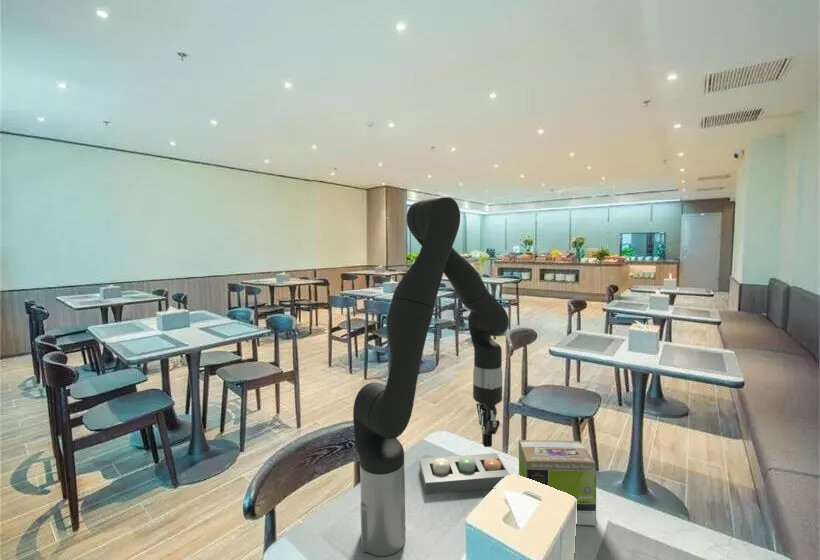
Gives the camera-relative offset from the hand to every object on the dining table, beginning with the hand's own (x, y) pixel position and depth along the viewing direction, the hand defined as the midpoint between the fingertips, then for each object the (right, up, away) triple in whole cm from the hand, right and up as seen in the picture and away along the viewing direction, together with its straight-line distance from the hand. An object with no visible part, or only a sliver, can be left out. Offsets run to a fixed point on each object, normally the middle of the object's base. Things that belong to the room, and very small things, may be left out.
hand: (487, 445), depth 102 cm
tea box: (+13, -10, -13) cm, 21 cm away
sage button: (-5, -6, 0) cm, 8 cm away
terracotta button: (+2, -7, +1) cm, 7 cm away
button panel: (-6, -9, 0) cm, 11 cm away
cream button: (-12, -6, -1) cm, 14 cm away
